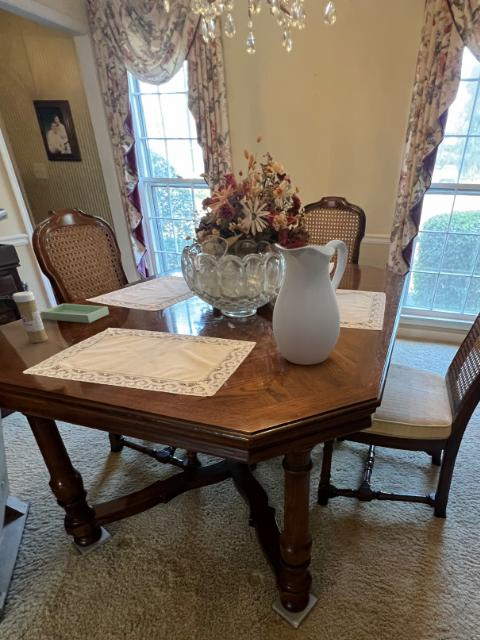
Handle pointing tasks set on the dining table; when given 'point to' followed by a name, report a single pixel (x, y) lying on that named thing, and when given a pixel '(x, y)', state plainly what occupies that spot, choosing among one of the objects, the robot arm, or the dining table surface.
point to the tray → (75, 313)
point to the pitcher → (309, 303)
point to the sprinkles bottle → (30, 316)
